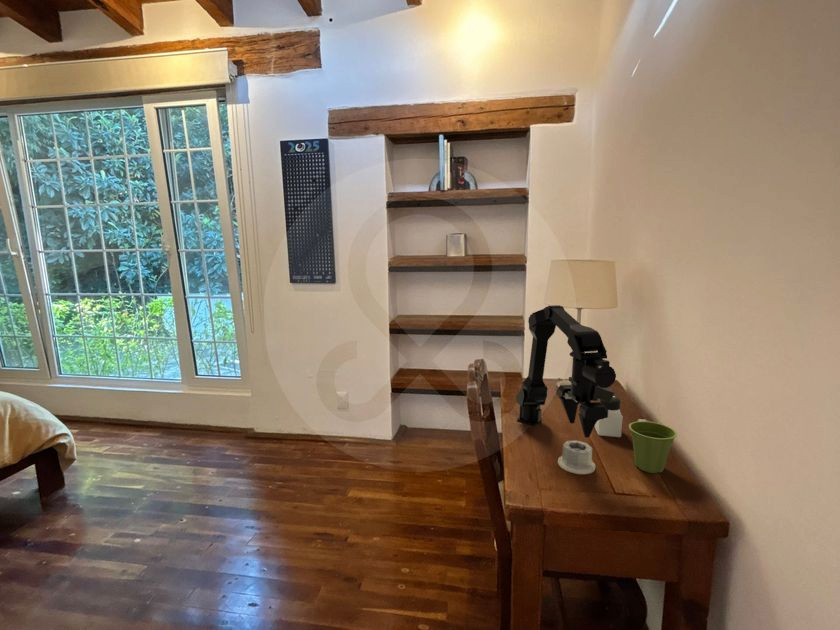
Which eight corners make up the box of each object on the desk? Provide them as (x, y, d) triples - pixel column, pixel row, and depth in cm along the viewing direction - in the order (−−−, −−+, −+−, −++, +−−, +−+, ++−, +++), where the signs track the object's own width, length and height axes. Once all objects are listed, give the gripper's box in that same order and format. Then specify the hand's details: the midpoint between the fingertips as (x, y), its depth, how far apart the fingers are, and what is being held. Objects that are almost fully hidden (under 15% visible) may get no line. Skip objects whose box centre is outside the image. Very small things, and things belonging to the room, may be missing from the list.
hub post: (552, 466, 125) (553, 451, 124) (565, 453, 133) (566, 438, 132) (588, 478, 119) (589, 462, 118) (600, 463, 127) (601, 448, 126)
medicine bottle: (621, 437, 143) (624, 402, 141) (598, 435, 145) (600, 400, 142) (616, 428, 150) (619, 394, 148) (594, 426, 151) (596, 392, 149)
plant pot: (665, 459, 129) (669, 422, 127) (678, 480, 118) (683, 441, 116) (621, 454, 132) (624, 418, 130) (630, 475, 121) (634, 436, 119)
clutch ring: (569, 470, 122) (570, 453, 121) (558, 457, 129) (559, 441, 128) (594, 468, 123) (596, 452, 122) (582, 456, 130) (584, 440, 129)
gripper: (630, 386, 113) (625, 444, 115) (594, 365, 131) (591, 415, 134) (587, 387, 112) (583, 445, 114) (558, 366, 130) (555, 417, 133)
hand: (579, 429), depth 124 cm, fingers open, 9 cm apart
